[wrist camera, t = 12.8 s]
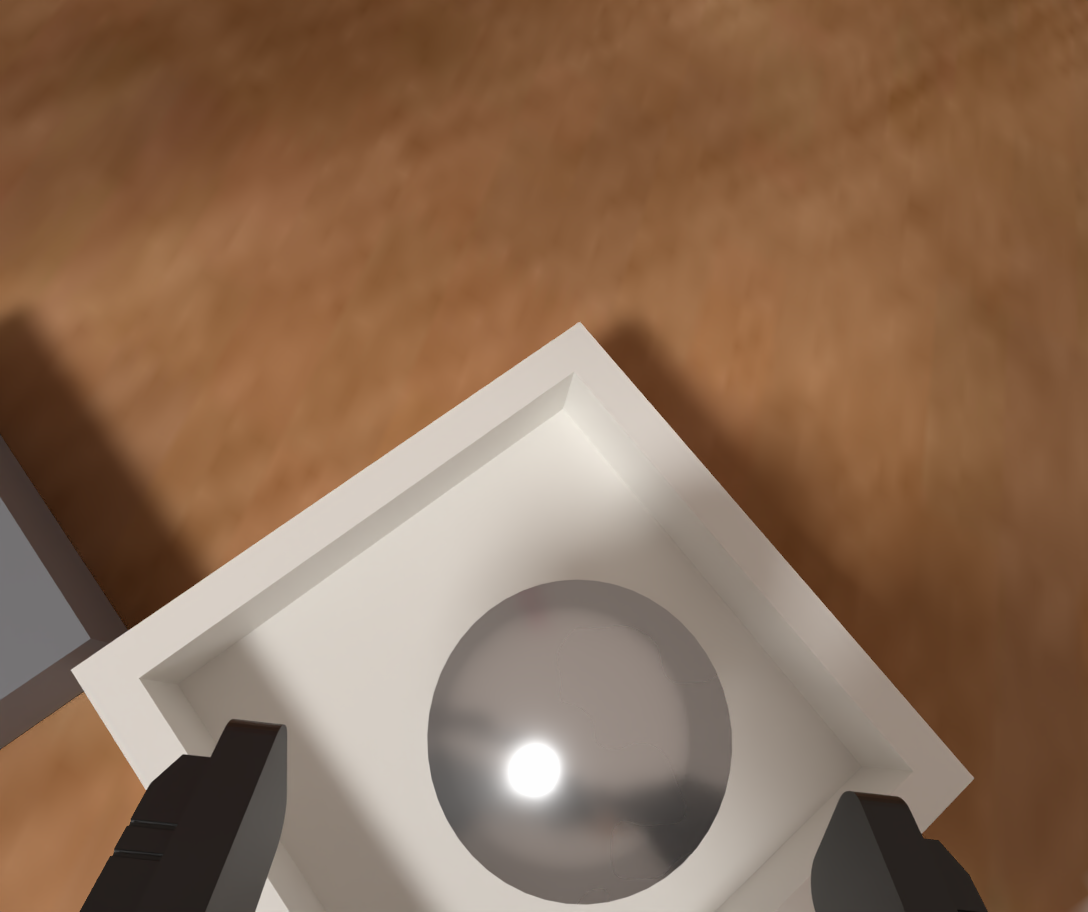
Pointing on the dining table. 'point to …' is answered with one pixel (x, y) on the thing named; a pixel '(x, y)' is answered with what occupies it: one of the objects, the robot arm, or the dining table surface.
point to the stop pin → (579, 742)
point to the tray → (465, 596)
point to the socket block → (42, 607)
